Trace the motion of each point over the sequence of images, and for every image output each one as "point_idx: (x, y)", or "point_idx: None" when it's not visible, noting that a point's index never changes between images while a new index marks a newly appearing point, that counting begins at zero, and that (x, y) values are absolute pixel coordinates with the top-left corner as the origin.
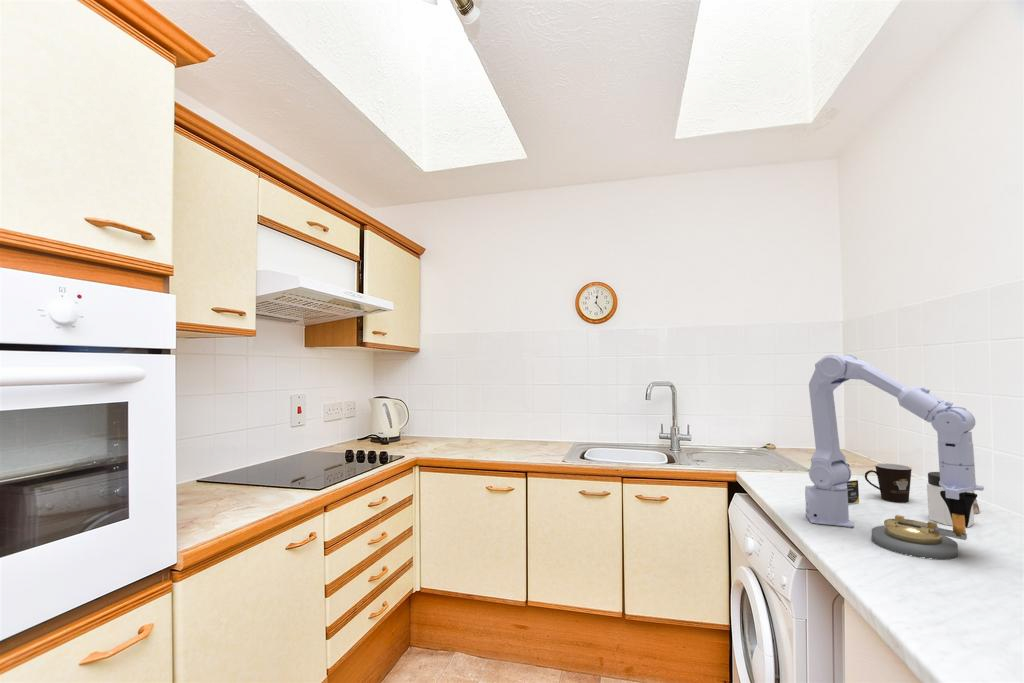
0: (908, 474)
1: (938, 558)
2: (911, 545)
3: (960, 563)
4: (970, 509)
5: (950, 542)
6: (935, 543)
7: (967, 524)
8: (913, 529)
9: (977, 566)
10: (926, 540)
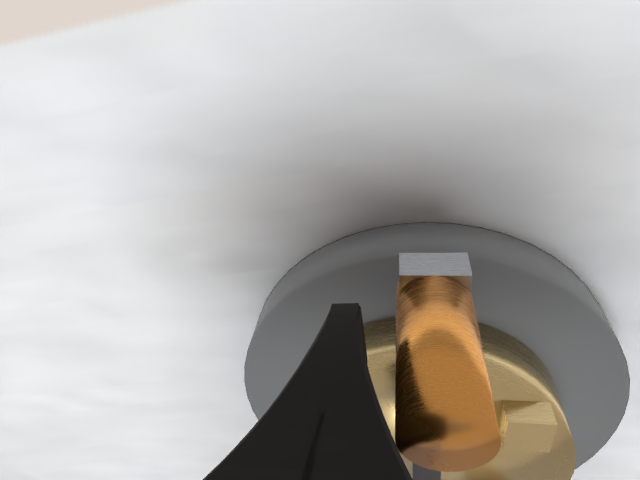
0: None
1: (569, 272)
2: (605, 390)
3: (558, 189)
4: (325, 428)
5: (367, 289)
6: (492, 332)
7: (354, 319)
8: (510, 452)
9: (548, 118)
10: (537, 372)
